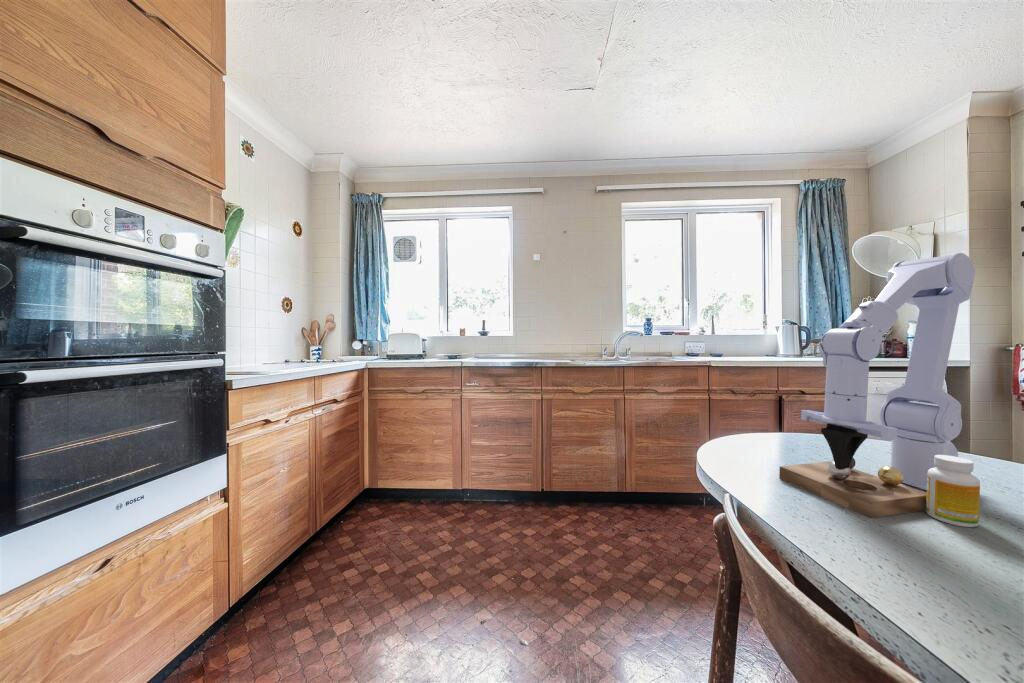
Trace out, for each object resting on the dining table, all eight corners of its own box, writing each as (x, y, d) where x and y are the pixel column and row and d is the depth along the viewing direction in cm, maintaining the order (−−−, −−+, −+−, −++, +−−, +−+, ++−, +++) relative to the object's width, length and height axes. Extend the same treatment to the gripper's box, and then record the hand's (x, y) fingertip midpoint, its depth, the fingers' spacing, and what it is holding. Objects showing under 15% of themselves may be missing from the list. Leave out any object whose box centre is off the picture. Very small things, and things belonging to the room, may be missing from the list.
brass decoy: (886, 480, 68) (886, 463, 68) (908, 487, 65) (908, 469, 64) (872, 481, 67) (873, 464, 67) (894, 489, 64) (894, 471, 64)
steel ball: (851, 460, 68) (857, 478, 66) (839, 465, 70) (845, 483, 69) (831, 457, 68) (837, 475, 66) (821, 463, 71) (826, 480, 69)
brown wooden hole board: (830, 473, 78) (831, 461, 77) (931, 509, 62) (931, 494, 62) (779, 478, 75) (779, 466, 75) (870, 517, 59) (871, 502, 59)
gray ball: (841, 465, 75) (842, 450, 75) (859, 471, 72) (860, 455, 72) (829, 466, 74) (829, 451, 74) (846, 472, 71) (847, 456, 71)
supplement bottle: (990, 530, 56) (993, 466, 55) (947, 526, 57) (949, 463, 56) (955, 512, 61) (957, 454, 61) (916, 509, 62) (918, 452, 62)
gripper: (789, 388, 74) (786, 456, 74) (875, 401, 59) (870, 485, 60) (818, 388, 75) (814, 455, 75) (908, 401, 61) (903, 483, 61)
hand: (841, 468), depth 67 cm, fingers closed, pressing on steel ball
